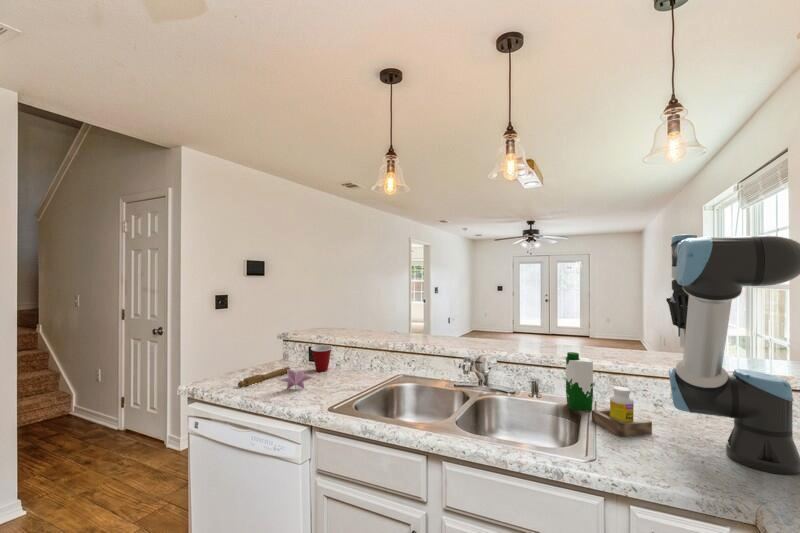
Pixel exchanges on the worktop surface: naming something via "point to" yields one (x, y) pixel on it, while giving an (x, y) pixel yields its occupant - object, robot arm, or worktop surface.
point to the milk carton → (579, 382)
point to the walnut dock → (621, 424)
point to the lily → (296, 378)
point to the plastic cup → (321, 357)
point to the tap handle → (261, 377)
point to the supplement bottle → (621, 405)
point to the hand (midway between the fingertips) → (685, 347)
